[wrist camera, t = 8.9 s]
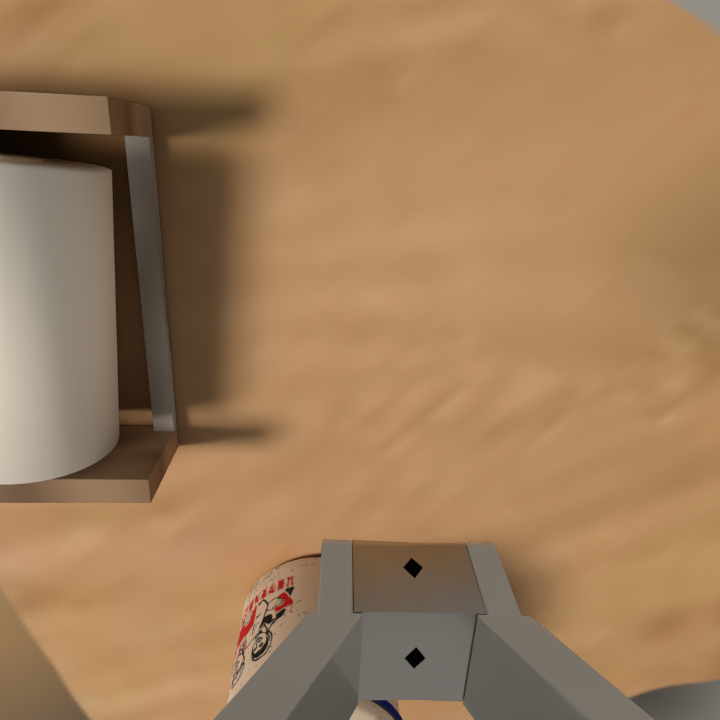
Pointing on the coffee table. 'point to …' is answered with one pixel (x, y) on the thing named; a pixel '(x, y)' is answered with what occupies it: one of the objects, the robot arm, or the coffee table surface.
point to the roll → (56, 318)
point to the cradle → (140, 443)
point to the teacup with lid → (286, 626)
